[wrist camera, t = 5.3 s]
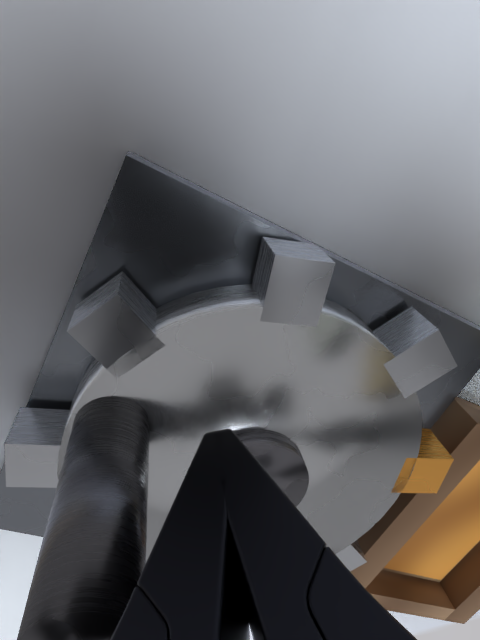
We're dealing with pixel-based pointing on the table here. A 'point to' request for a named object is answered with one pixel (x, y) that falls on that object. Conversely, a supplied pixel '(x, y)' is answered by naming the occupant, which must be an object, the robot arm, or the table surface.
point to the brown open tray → (432, 534)
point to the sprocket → (220, 424)
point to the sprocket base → (198, 275)
